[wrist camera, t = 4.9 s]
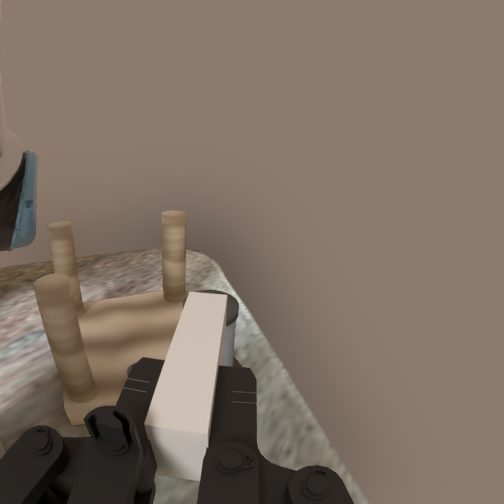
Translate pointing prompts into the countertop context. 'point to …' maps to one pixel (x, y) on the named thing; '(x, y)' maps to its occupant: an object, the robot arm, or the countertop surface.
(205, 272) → the countertop surface
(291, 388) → the countertop surface
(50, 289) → the ash stool
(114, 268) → the countertop surface
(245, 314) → the countertop surface
